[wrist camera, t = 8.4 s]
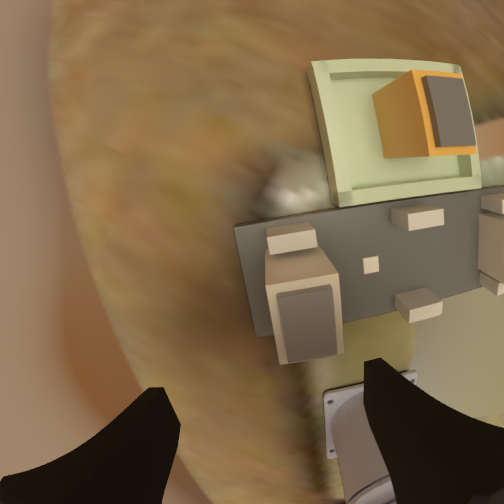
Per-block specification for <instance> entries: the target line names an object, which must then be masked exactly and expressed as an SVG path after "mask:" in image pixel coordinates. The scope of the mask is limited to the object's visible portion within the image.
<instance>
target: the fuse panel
mask: <svg viewBox="0 0 504 504" xmlns="http://www.w3.org/2000/svg"><path fill="white" fill-rule="evenodd" d="M234 231H235V236H236V241H237V246H238V251H239V256H240V261H241V266H242V271H243V276H244V280H245V285H246V290H247V295H248V300H249V304H250V309H251V314H252V319H253V323H254V328H255V333H256V337H264V336H270V335H274V336H275V341H276V347H277V352H278V358H279V363H280V365H283V364H290V363H296V362H302V361H308V360H313V359H319V358H324V357H329V356H334V355H339V354H344V341H343V324H342V323H344V322H349V321H354V320H359V319H363V318H368V317H372V316H377V315H381V314H385V313H390V312H394V311H399V312H400V313H401V315H402V316H403V317H404V318H405V319H406V320H407V322H408V323H413V322H416V321H420V320H423V319H427V318H431V317H434V316H437V315H441V314H442V304H443V302H442V300H441V299H443V298H447V297H450V296H454V295H457V294H461V293H464V292H467V291H470V290H473V289H476V288H480V287H485V288H487V289H488V290H489V291H491V292H493V293H494V294H495V295H500V294H502V293H504V186H495V187H485V188H479V189H470V190H462V191H454V192H446V193H438V194H430V195H422V196H415V197H408V198H400V199H393V200H386V201H379V202H372V203H366V204H359V205H352V206H346V207H337V208H331V209H324V210H318V211H312V212H306V213H300V214H294V215H288V216H282V217H276V218H270V219H264V220H259V221H253V222H247V223H242V224H236V225H235V226H234Z"/></svg>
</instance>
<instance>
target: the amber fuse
mask: <svg viewBox="0 0 504 504" xmlns="http://www.w3.org/2000/svg"><path fill="white" fill-rule="evenodd" d="M372 98H373V103H374V107H375V112H376V117H377V122H378V127H379V132H380V137H381V143H382V149H383V155H384V158H403V157H430V156H445V155H464V154H477V151H476V140H475V134H474V128H473V123H472V117H471V112H470V107H469V103H468V98H467V94H466V90H465V86H464V82H463V79H462V77H461V74H458V73H450V72H440V71H428V70H410V71H408V72H407V73H405V74H403V75H402V76H400V77H398V78H397V79H395V80H394V81H392V82H391V83H389V84H387V85H386V86H384V87H383V88H381V89H380V90H378V91H376V92H375V93H373V94H372Z"/></svg>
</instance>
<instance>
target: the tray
mask: <svg viewBox="0 0 504 504" xmlns="http://www.w3.org/2000/svg"><path fill="white" fill-rule="evenodd" d="M410 70H428V71H440V72H450V73H458V74H461V77H462V79H463V82H464V78H463V75H462V71H461V68H460V65H456V64H448V63H440V62H430V61H418V60H401V59H340V60H323V61H311V64H310V66H309V68H308V70H307V76H308V80H309V84H310V89H311V93H312V98H313V102H314V107H315V111H316V116H317V121H318V126H319V131H320V136H321V141H322V147H323V152H324V158H325V164H326V170H327V176H328V182H329V188H330V195H331V202H332V204H334V205H336V206H338V207H346V206H352V205H359V204H366V203H372V202H379V201H386V200H393V199H400V198H408V197H415V196H422V195H430V194H438V193H446V192H454V191H462V190H470V189H479V188H482V186H481V173H480V164H479V155H478V148H477V140H476V134H475V128H474V123H473V117H472V112H471V107H470V103H469V98H468V94H467V90H466V86H465V82H464V86H465V90H466V94H467V98H468V103H469V107H470V112H471V117H472V123H473V128H474V134H475V140H476V151H477V154H464V155H445V156H430V157H403V158H384V155H383V149H382V143H381V137H380V132H379V127H378V122H377V117H376V112H375V107H374V103H373V98H372V94H373V93H375V92H376V91H378V90H380V89H381V88H383V87H384V86H386V85H387V84H389V83H391V82H392V81H394V80H395V79H397V78H398V77H400V76H402V75H403V74H405V73H407V72H408V71H410Z"/></svg>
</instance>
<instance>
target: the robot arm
mask: <svg viewBox="0 0 504 504" xmlns="http://www.w3.org/2000/svg"><path fill="white" fill-rule="evenodd" d="M412 379H413V380H412ZM417 379H418V373H417V371H416V370H411V371H408V372H404V373H401V374H400V373H399V372H398V371H396V370H395V369H394V368H393V367H392V366H390V365H389V364H388V363H387V362H386V361H384V360H383V359H382V358H378V359H373V360H369V361H365V362H364V383H363V384H358V385H354V386H349V387H345V388H340V389H335V390H330V391H327V392H325V393H324V395H323V400H324V415H325V432H326V454H327V458H328V459H335V458H337V460H338V465H339V470H340V475H341V480H342V485H343V490H344V496H345V501H346V504H504V428H502V427H498V426H495V425H491V424H488V423H485V422H482V421H480V420H477V419H474V418H472V417H469V416H467V415H465V414H463V413H460V412H458V411H456V410H454V409H452V408H450V407H448V406H447V405H445V404H443V403H441V402H440V401H438V400H436V399H435V398H433V397H432V396H430V395H429V394H427V393H426V392H424V391H423V390H421V389H420V388H419V387H417V386H416V385H417ZM411 380H412V381H411ZM329 400H332V401H329ZM180 425H181V424H180V422H179V420H178V418H177V415H176V413H175V411H174V409H173V407H172V405H171V403H170V401H169V398H168V396H167V394H166V392H165V390H164V387H152V388H148V389H147V390H146V391H144V392H143V393H142V394H141V395H140V396H139V397H138V398H137V399H136V400H135V401H133V402H132V403H131V404H130V405H129V406H128V407H127V408H126V409H125V410H124V411H123V412H122V413H121V414H119V415H118V416H117V417H116V418H115V419H114V420H113V421H112V422H110V423H109V424H108V425H107V426H106V427H104V428H103V429H102V430H101V431H100V432H98V433H97V434H96V435H95V436H93V437H92V438H91V439H89V440H88V441H86V442H85V443H84V444H82V445H81V446H79V447H77V448H76V449H74V450H73V451H71V452H69V453H67V454H65V455H63V456H61V457H59V458H58V459H56V460H54V461H52V462H49V463H47V464H45V465H42V466H40V467H37V468H34V469H31V470H28V471H25V472H21V473H17V474H13V475H8V476H4V477H3V478H2V479H1V481H0V504H162V499H163V495H164V490H165V487H166V484H167V480H168V477H169V474H170V471H171V467H172V464H173V460H174V457H175V454H176V450H177V447H178V440H179V433H180Z"/></svg>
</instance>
